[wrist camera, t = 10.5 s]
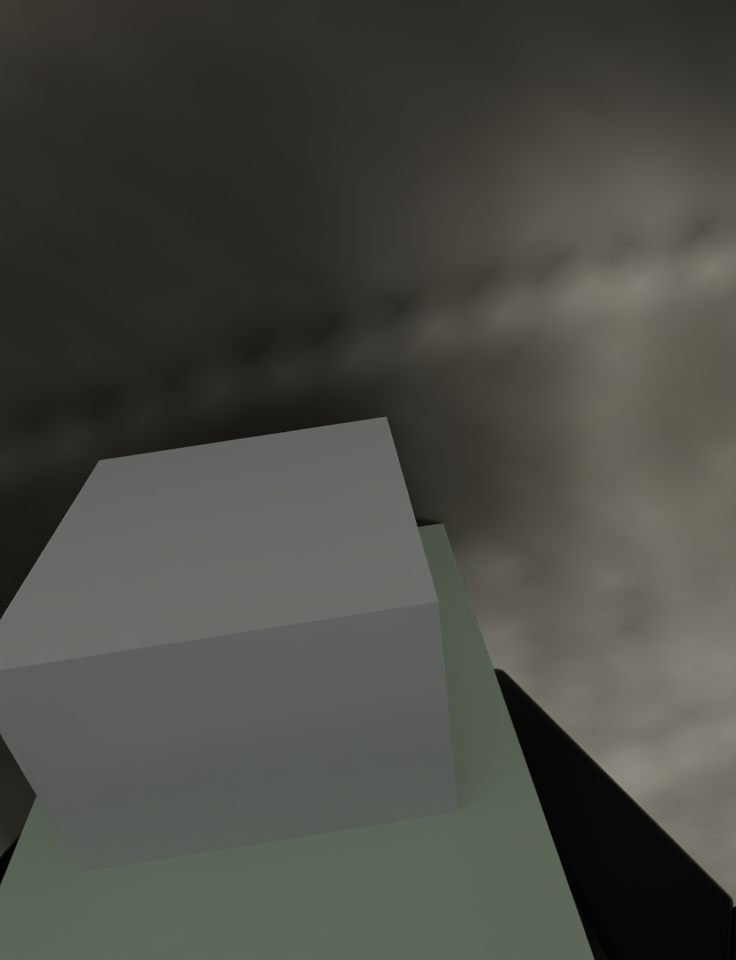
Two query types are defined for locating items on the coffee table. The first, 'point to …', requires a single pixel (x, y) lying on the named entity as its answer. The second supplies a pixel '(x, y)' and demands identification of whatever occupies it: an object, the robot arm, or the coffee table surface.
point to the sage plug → (266, 724)
